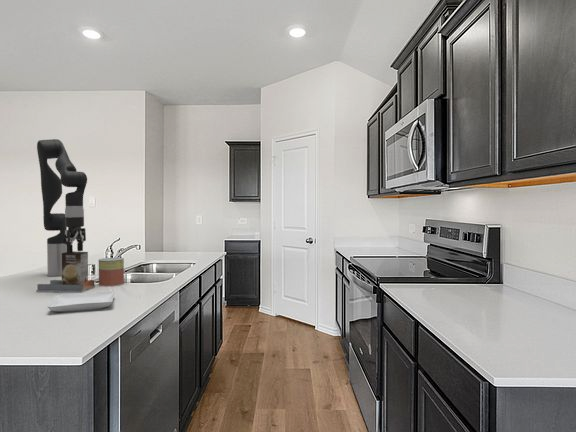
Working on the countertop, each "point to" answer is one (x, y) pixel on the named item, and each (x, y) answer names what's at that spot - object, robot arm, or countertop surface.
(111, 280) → the canned food
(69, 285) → the gray orange tray
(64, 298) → the salad plate
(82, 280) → the coffee box
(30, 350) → the countertop surface
